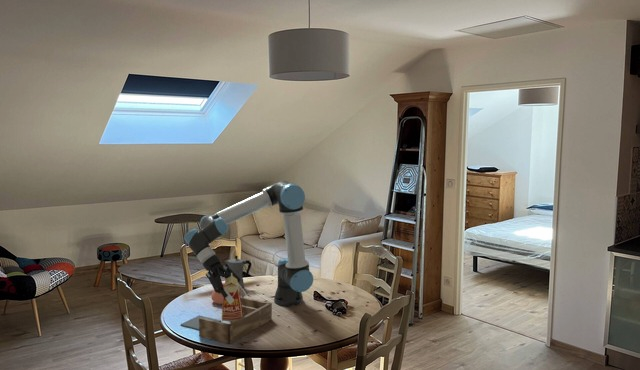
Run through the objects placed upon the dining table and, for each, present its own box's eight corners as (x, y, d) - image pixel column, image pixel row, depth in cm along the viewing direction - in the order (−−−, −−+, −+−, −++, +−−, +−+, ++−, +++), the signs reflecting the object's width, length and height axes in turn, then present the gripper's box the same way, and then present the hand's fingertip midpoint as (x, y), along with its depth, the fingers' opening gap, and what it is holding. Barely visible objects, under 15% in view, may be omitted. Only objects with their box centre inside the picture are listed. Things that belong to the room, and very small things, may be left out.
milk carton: (223, 313, 239) (221, 271, 236) (244, 313, 240) (242, 271, 236) (221, 322, 230) (219, 278, 227) (242, 321, 231) (240, 278, 227)
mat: (180, 325, 241) (180, 324, 241) (199, 316, 252) (199, 315, 252) (202, 331, 235) (202, 329, 235) (221, 321, 246) (221, 320, 246)
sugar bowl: (208, 300, 275) (208, 281, 274) (233, 296, 282) (233, 277, 281) (215, 307, 265) (215, 288, 263) (242, 303, 272) (242, 284, 270)
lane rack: (199, 336, 230) (199, 318, 229) (242, 312, 258) (242, 297, 257) (230, 344, 222) (230, 326, 221) (271, 319, 251) (271, 303, 250)
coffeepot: (222, 288, 295) (222, 257, 293) (227, 283, 304) (227, 253, 302) (249, 290, 293) (249, 258, 291) (253, 285, 302) (253, 254, 300)
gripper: (219, 258, 248) (247, 296, 243) (188, 270, 229) (218, 311, 224) (228, 249, 245) (257, 287, 240) (197, 259, 226) (228, 301, 221)
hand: (238, 299), depth 232 cm, fingers closed on milk carton, 9 cm apart
